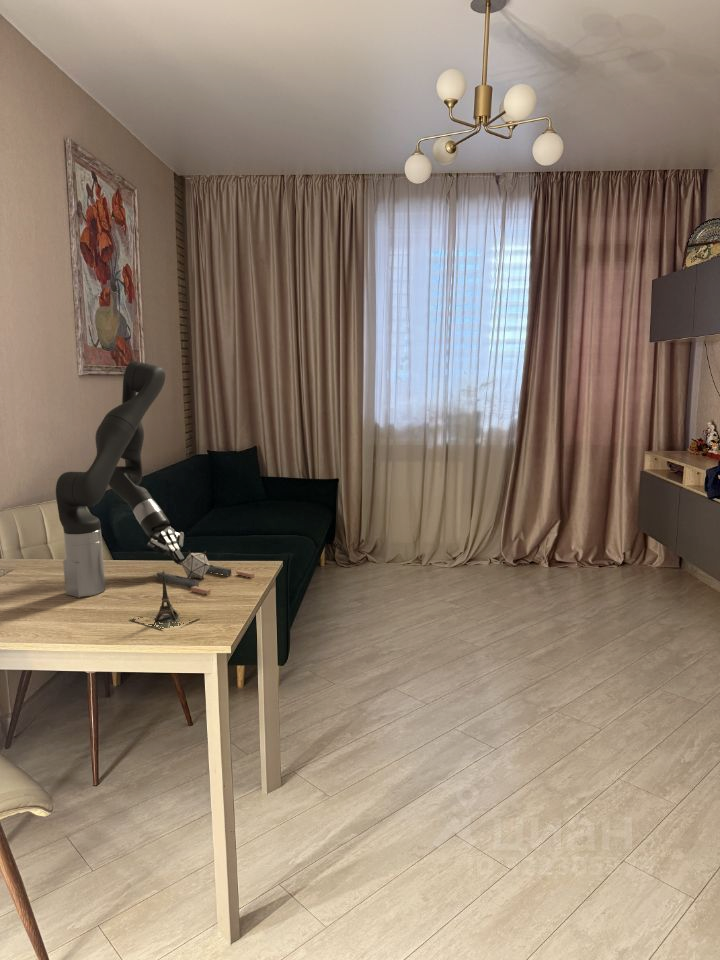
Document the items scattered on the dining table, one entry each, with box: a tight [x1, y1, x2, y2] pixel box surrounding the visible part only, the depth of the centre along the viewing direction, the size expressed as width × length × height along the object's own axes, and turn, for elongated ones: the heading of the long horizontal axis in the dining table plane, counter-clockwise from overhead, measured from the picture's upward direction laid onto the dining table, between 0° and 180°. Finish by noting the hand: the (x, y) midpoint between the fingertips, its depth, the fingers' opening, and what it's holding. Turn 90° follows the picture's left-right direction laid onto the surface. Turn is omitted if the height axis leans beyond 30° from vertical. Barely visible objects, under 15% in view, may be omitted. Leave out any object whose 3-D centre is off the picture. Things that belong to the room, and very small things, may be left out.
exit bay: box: [190, 569, 255, 595], centre depth 177 cm, size 18×6×1 cm, turn 147°
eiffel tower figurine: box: [128, 570, 201, 630], centre depth 150 cm, size 15×10×13 cm
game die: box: [178, 550, 214, 580], centre depth 183 cm, size 9×8×10 cm
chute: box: [156, 565, 232, 588], centre depth 184 cm, size 14×16×2 cm
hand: (181, 562), depth 186 cm, fingers closed
